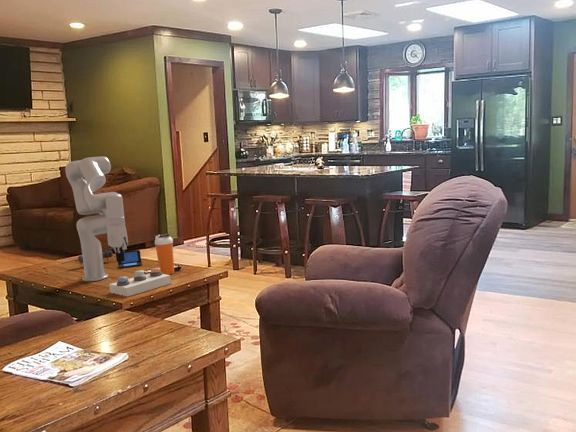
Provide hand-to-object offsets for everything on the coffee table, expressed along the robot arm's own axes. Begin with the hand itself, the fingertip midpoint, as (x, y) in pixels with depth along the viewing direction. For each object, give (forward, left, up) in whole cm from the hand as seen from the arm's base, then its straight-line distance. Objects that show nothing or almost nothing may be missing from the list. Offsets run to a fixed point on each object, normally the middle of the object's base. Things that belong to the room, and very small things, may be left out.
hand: (120, 261), depth 275 cm
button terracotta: (+2, +17, -9) cm, 19 cm away
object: (-47, +34, -15) cm, 60 cm away
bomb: (-70, +23, -15) cm, 75 cm away
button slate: (+2, -1, -9) cm, 9 cm away
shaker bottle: (-10, +32, -15) cm, 36 cm away
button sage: (+2, +8, -8) cm, 11 cm away
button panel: (+2, +8, -14) cm, 16 cm away
